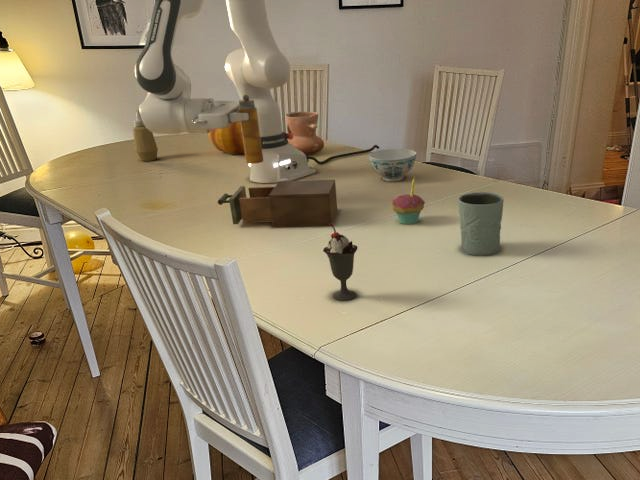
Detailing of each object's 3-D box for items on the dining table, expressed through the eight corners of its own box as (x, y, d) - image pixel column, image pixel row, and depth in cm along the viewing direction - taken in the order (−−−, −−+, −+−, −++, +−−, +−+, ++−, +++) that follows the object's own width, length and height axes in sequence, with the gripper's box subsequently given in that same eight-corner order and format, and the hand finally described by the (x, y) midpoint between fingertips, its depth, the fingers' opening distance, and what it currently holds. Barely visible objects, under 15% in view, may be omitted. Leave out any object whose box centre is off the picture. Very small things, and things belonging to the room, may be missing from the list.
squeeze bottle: (153, 162, 244) (142, 111, 235) (133, 162, 246) (122, 112, 236) (163, 157, 251) (153, 107, 242) (144, 157, 252) (133, 108, 243)
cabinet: (272, 227, 171) (268, 195, 166) (282, 211, 182) (278, 181, 178) (331, 226, 170) (328, 193, 165) (337, 210, 181) (335, 179, 177)
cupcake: (428, 217, 172) (427, 172, 166) (419, 228, 165) (418, 180, 159) (397, 215, 175) (396, 170, 169) (387, 225, 168) (385, 179, 162)
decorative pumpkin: (202, 156, 248) (194, 115, 241) (232, 144, 266) (226, 105, 258) (247, 158, 242) (241, 116, 234) (276, 145, 259) (271, 106, 252)
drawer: (217, 225, 172) (213, 199, 168) (229, 210, 183) (225, 186, 179) (287, 223, 171) (284, 197, 167) (295, 208, 181) (292, 184, 178)
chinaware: (362, 183, 205) (361, 158, 201) (380, 171, 217) (379, 147, 213) (407, 186, 200) (406, 160, 196) (423, 173, 211) (422, 149, 208)
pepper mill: (257, 158, 183) (248, 92, 175) (266, 161, 180) (258, 94, 172) (242, 161, 181) (233, 95, 172) (252, 164, 178) (242, 96, 169)
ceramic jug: (334, 153, 244) (330, 113, 236) (301, 160, 236) (297, 119, 229) (307, 146, 256) (303, 108, 249) (276, 153, 248) (271, 113, 241)
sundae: (327, 290, 134) (320, 219, 126) (359, 288, 134) (355, 217, 127) (327, 304, 128) (320, 231, 121) (361, 301, 128) (356, 228, 121)
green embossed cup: (490, 259, 144) (492, 206, 138) (449, 252, 149) (450, 201, 143) (508, 245, 152) (511, 194, 146) (469, 239, 157) (470, 189, 151)
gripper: (186, 110, 165) (240, 108, 164) (209, 97, 182) (258, 95, 181) (191, 135, 168) (244, 134, 167) (213, 121, 185) (261, 119, 184)
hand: (251, 114), depth 174 cm, fingers closed on pepper mill, 5 cm apart
